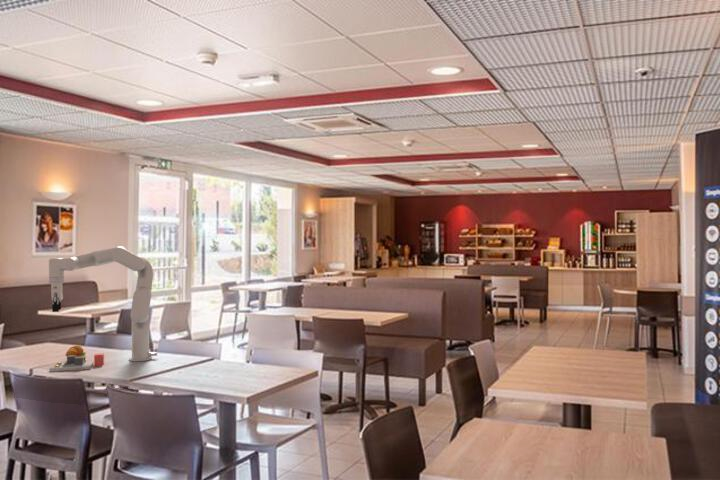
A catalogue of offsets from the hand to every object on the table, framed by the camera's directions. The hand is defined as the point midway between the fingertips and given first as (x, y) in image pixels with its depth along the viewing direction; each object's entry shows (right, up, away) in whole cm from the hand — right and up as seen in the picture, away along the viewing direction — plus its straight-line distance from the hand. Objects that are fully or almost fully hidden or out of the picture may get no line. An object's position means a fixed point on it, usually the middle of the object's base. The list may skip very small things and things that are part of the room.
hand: (56, 310), depth 341 cm
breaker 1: (+12, -28, -7) cm, 31 cm away
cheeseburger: (+7, -30, +8) cm, 32 cm away
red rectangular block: (+24, -30, -1) cm, 39 cm away
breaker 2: (+18, -28, -11) cm, 35 cm away
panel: (+13, -30, -10) cm, 34 cm away
